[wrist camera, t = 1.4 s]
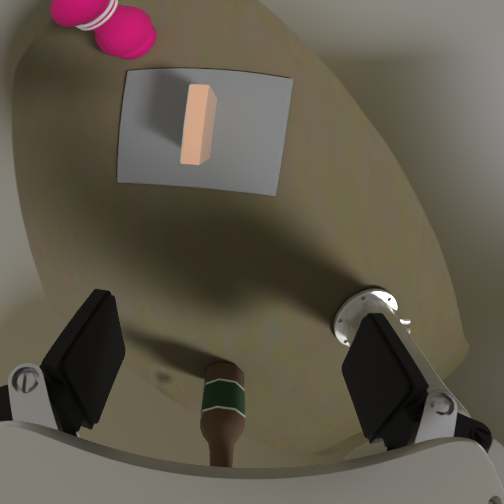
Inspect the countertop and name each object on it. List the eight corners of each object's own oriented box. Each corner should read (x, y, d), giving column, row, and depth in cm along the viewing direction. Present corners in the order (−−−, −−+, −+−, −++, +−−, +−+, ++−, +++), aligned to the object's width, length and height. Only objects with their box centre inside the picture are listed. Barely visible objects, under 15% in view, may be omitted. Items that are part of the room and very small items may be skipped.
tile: (217, 98, 30) (209, 84, 22) (209, 158, 33) (199, 165, 25) (202, 97, 30) (189, 84, 21) (195, 157, 33) (179, 163, 24)
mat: (292, 80, 29) (293, 79, 29) (275, 195, 36) (275, 196, 35) (129, 71, 28) (127, 70, 27) (118, 181, 34) (117, 182, 33)
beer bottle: (209, 386, 51) (202, 490, 29) (200, 362, 48) (186, 477, 26) (246, 383, 51) (251, 490, 29) (240, 358, 48) (242, 478, 26)
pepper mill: (169, 41, 26) (107, -29, 8) (126, 72, 28) (35, 35, 9) (146, 12, 24) (83, -55, 5) (105, 42, 25) (20, 0, 7)
